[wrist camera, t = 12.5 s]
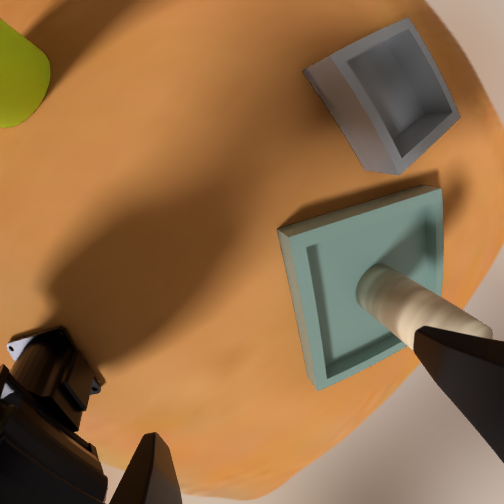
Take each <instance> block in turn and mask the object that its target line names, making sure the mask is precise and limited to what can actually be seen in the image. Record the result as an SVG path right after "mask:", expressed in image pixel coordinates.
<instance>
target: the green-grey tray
mask: <svg viewBox="0 0 504 504" xmlns="http://www.w3.org/2000/svg"><path fill="white" fill-rule="evenodd" d="M277 232H278V237H279V241H280V246H281V250H282V255H283V259H284V264H285V268H286V273H287V278H288V282H289V287H290V292H291V296H292V301H293V306H294V311H295V316H296V320H297V325H298V330H299V335H300V340H301V345H302V350H303V355H304V361H305V366H306V371H307V376H308V378H309V379H310V381H311V382H312V384H313V385H314V387H315V388H316V390H317V391H319V390H322V389H324V388H326V387H328V386H331V385H333V384H335V383H337V382H339V381H341V380H344V379H346V378H348V377H350V376H352V375H354V374H356V373H358V372H360V371H362V370H364V369H366V368H368V367H370V366H372V365H374V364H376V363H377V362H379V361H381V360H383V359H385V358H387V357H389V356H390V355H392V354H394V353H396V352H398V351H399V350H401V349H403V348H405V347H406V346H407V345H406V344H405V343H404V342H403V341H401V340H400V339H399V338H398V337H397V336H395V335H394V334H393V333H392V332H391V331H389V330H388V329H387V328H386V327H385V326H384V325H382V324H381V323H380V322H379V321H378V320H376V319H375V318H374V317H373V316H372V315H370V314H369V313H368V312H367V311H366V310H364V309H363V308H362V307H361V306H360V305H359V304H358V302H357V300H356V288H357V284H358V282H359V280H360V278H361V277H362V275H363V274H364V273H365V272H366V271H367V270H368V269H369V268H371V267H372V266H375V265H378V264H384V265H387V266H389V267H390V268H392V269H394V270H396V271H397V272H399V273H401V274H403V275H404V276H406V277H408V278H410V279H411V280H413V281H415V282H417V283H418V284H420V285H422V286H423V287H425V288H427V289H428V290H430V291H432V292H434V293H435V294H437V295H439V296H440V297H441V295H442V280H443V251H444V230H443V202H442V188H438V187H434V186H429V185H421V186H417V187H414V188H410V189H407V190H404V191H400V192H397V193H394V194H390V195H387V196H383V197H380V198H377V199H373V200H370V201H367V202H364V203H360V204H357V205H354V206H350V207H347V208H344V209H340V210H337V211H334V212H331V213H327V214H324V215H321V216H318V217H314V218H311V219H308V220H305V221H302V222H298V223H295V224H292V225H289V226H285V227H282V228H279V229H277Z"/></svg>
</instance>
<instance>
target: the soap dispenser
mask: <svg viewBox="0 0 504 504" xmlns="http://www.w3.org/2000/svg"><path fill="white" fill-rule="evenodd" d="M49 82H50V64H49V60H48V58H47V56H46V55H45V54H44V53H43V52H42V51H41V50H40V49H39V48H37V47H36V46H35V45H34V44H32V43H31V42H30V41H29V40H27V39H26V38H25V37H23V36H22V35H21V34H20V33H18V32H17V31H16V30H15V29H13V28H12V27H11V26H9V25H8V24H7V23H6V22H4V21H3V20H2V19H0V128H9V127H14V126H16V125H18V124H20V123H22V122H24V121H25V120H26V119H28V118H29V117H30V116H31V115H32V114H33V113H34V112H35V110H36V109H37V108H38V107H39V105H40V104H41V102H42V100H43V98H44V96H45V94H46V92H47V89H48V86H49Z"/></svg>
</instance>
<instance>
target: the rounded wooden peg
mask: <svg viewBox="0 0 504 504" xmlns="http://www.w3.org/2000/svg"><path fill="white" fill-rule="evenodd" d="M356 300H357V302H358V304H359V305H360V306H361V307H362V308H363V309H364V310H366V311H367V312H368V313H369V314H370V315H372V316H373V317H374V318H375V319H376V320H378V321H379V322H380V323H381V324H382V325H384V326H385V327H386V328H387V329H388V330H389V331H391V332H392V333H393V334H394V335H395V336H397V337H398V338H399V339H400V340H401V341H403V342H404V343H405V344H406V345H407V346H408V347H410V348H411V349H412V350H413V344H414V333H415V331H416V330H417V329H419V328H420V327H422V326H431V327H435V328H440V329H444V330H449V331H454V332H459V333H464V334H468V335H473V336H478V337H483V338H488V339H492V335H493V333H492V329H491V328H490V327H489V326H487V325H485V324H484V323H482V322H481V321H479V320H478V319H476V318H474V317H473V316H471V315H469V314H468V313H466V312H465V311H463V310H462V309H460V308H458V307H457V306H455V305H453V304H452V303H450V302H449V301H447V300H445V299H444V298H442V297H440V296H439V295H437V294H435V293H434V292H432V291H430V290H428V289H427V288H425V287H423V286H422V285H420V284H418V283H417V282H415V281H413V280H411V279H410V278H408V277H406V276H404V275H403V274H401V273H399V272H397V271H396V270H394V269H392V268H390V267H389V266H387V265H384V264H378V265H375V266H372V267H371V268H369V269H368V270H367V271H366V272H365V273H364V274H363V275H362V277H361V278H360V280H359V282H358V284H357V288H356ZM413 351H414V350H413Z"/></svg>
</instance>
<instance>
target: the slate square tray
mask: <svg viewBox="0 0 504 504" xmlns="http://www.w3.org/2000/svg"><path fill="white" fill-rule="evenodd" d="M302 72H303V74H304V75H305V77H306V78H307V79H308V81H309V82H310V84H311V85H312V86H313V88H314V89H315V91H316V92H317V94H318V95H319V97H320V98H321V100H322V101H323V103H324V104H325V106H326V107H327V109H328V110H329V112H330V113H331V115H332V116H333V118H334V119H335V121H336V123H337V124H338V126H339V127H340V129H341V131H342V132H343V134H344V136H345V137H346V139H347V140H348V142H349V144H350V146H351V147H352V149H353V151H354V152H355V154H356V156H357V158H358V159H359V161H360V163H361V165H362V166H363V168H364V170H365V171H372V172H379V173H386V174H393V175H400V174H401V173H403V172H404V171H405V170H406V169H407V168H408V167H409V166H410V165H411V164H412V163H413V162H414V161H415V160H417V159H418V158H419V157H420V156H421V155H422V154H423V153H424V152H425V151H426V150H427V149H428V148H429V147H430V146H431V145H433V144H434V143H435V142H436V141H437V140H438V139H439V138H440V137H441V136H442V135H443V134H444V133H445V132H446V131H447V130H448V129H449V128H450V127H451V126H452V125H453V124H454V123H455V122H456V121H457V120H458V119H459V118H460V114H459V112H458V109H457V107H456V104H455V102H454V100H453V98H452V95H451V93H450V91H449V89H448V87H447V85H446V82H445V80H444V78H443V76H442V74H441V72H440V70H439V68H438V66H437V65H436V63H435V61H434V59H433V57H432V55H431V53H430V52H429V50H428V48H427V46H426V45H425V43H424V41H423V39H422V38H421V36H420V34H419V33H418V31H417V30H416V28H415V26H414V25H413V23H412V22H411V20H410V19H409V17H408V18H405V19H403V20H400V21H398V22H396V23H393V24H391V25H389V26H386V27H384V28H382V29H380V30H378V31H376V32H373V33H371V34H369V35H367V36H365V37H363V38H361V39H359V40H357V41H355V42H353V43H351V44H349V45H347V46H346V47H344V48H342V49H340V50H338V51H336V52H334V53H332V54H331V55H329V56H327V57H325V58H323V59H322V60H320V61H318V62H316V63H315V64H313V65H311V66H310V67H308V68H306V69H304V70H303V71H302Z"/></svg>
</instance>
